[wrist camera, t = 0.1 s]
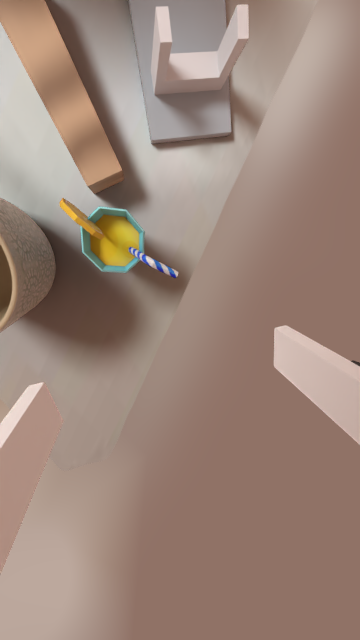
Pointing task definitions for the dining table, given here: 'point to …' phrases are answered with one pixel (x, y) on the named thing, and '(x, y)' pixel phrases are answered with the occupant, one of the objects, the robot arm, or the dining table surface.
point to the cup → (113, 239)
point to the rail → (61, 90)
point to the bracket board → (184, 40)
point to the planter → (22, 264)
